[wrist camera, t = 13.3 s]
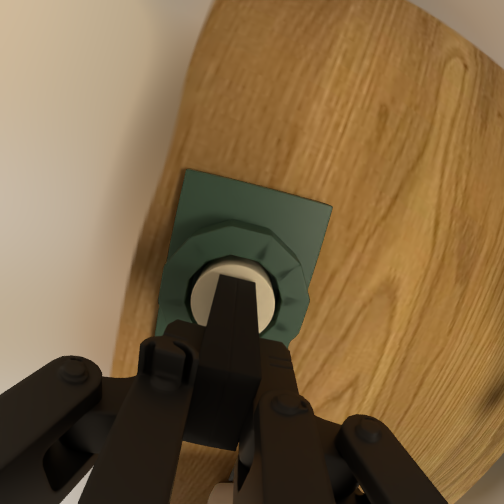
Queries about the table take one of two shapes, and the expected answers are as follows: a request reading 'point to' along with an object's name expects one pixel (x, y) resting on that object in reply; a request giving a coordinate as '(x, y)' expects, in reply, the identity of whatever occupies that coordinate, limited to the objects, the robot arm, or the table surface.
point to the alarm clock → (221, 494)
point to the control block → (243, 245)
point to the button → (237, 269)
